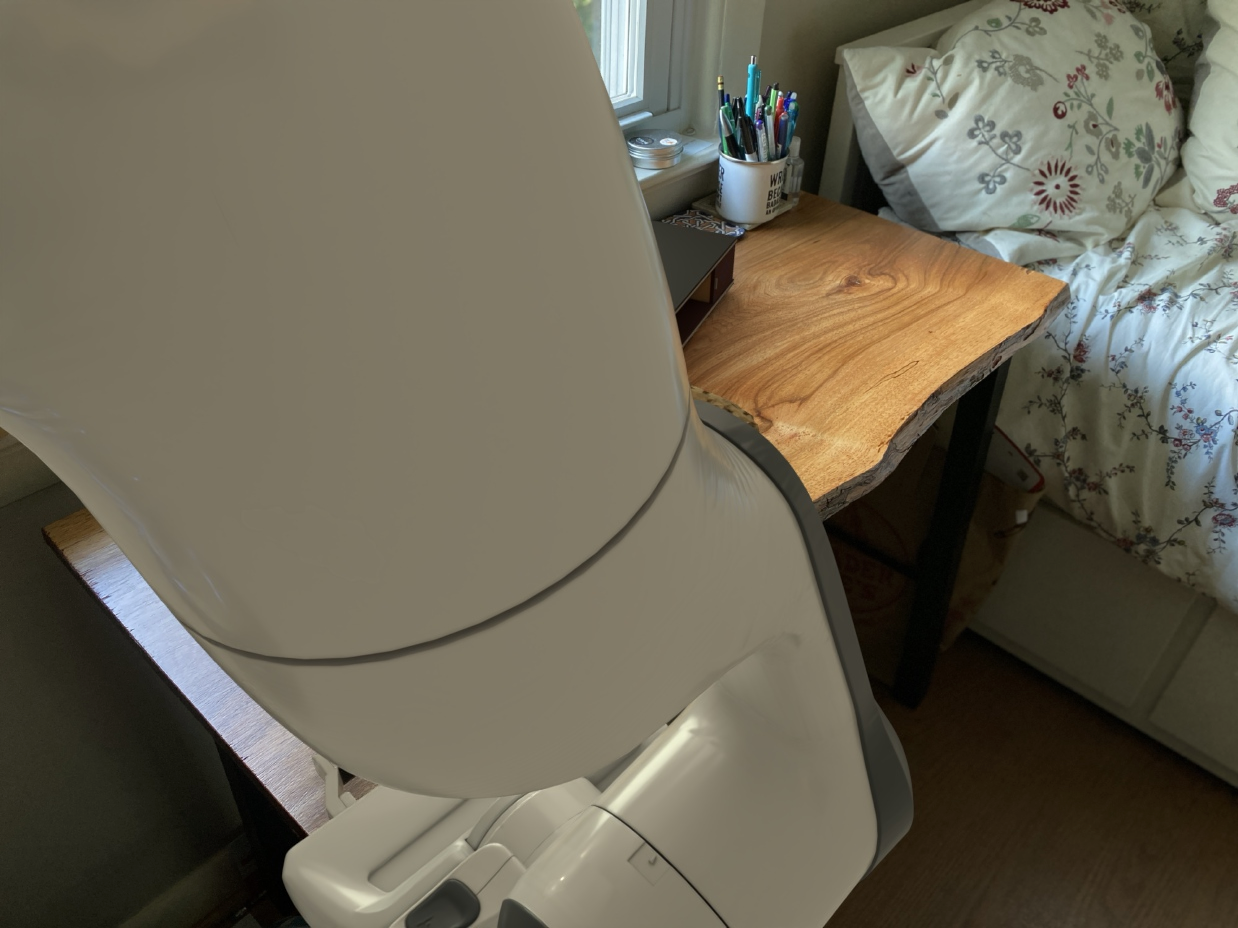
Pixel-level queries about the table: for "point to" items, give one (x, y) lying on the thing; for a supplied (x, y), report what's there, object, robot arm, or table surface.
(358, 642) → the robot arm
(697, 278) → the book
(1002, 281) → the table surface
